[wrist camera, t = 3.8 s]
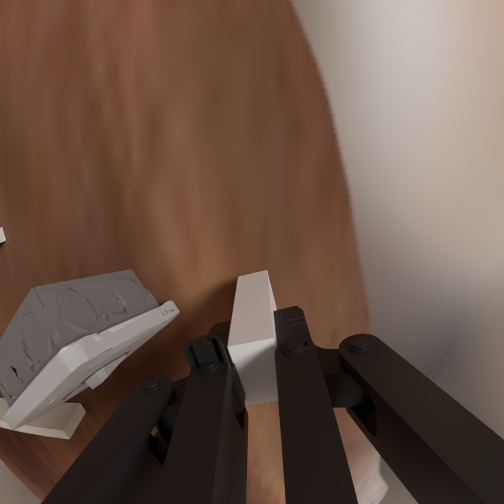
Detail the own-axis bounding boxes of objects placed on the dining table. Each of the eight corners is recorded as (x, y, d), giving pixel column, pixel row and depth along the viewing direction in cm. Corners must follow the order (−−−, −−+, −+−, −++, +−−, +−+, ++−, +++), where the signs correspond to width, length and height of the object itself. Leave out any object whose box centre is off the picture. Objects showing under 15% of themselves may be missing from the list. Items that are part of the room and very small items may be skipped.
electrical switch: (101, 376, 20) (32, 456, 11) (55, 322, 19) (-31, 382, 10) (186, 306, 18) (116, 401, 9) (129, 239, 17) (19, 283, 8)
